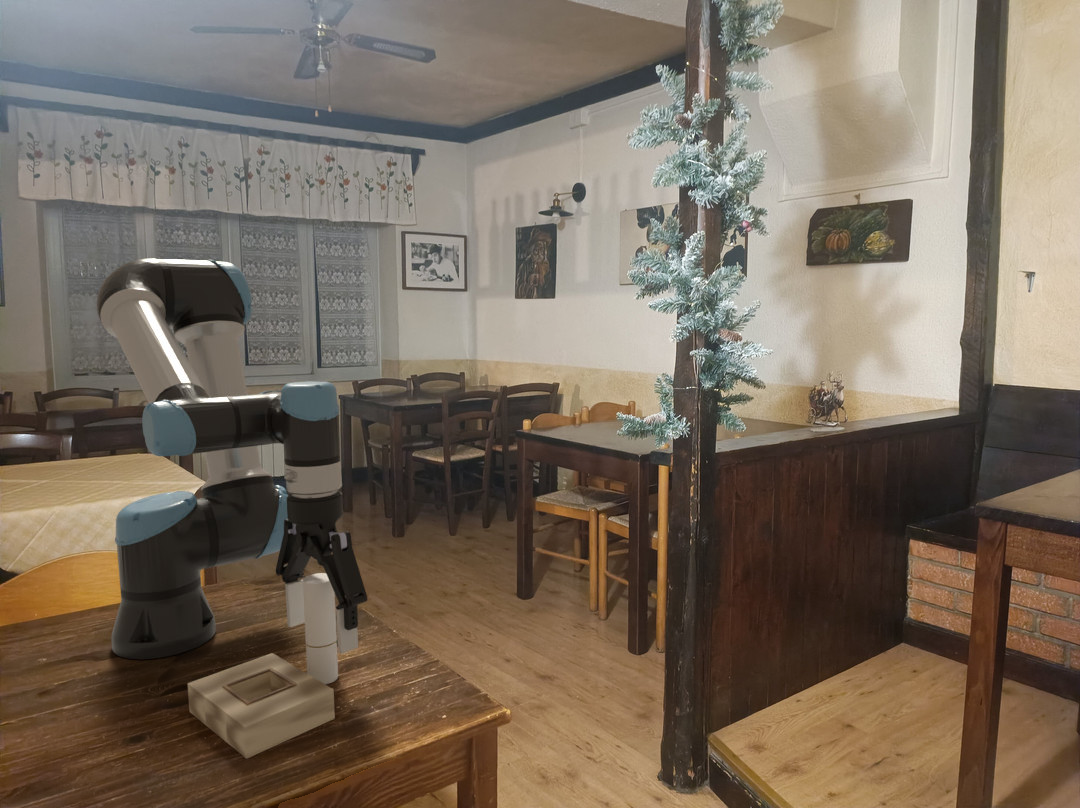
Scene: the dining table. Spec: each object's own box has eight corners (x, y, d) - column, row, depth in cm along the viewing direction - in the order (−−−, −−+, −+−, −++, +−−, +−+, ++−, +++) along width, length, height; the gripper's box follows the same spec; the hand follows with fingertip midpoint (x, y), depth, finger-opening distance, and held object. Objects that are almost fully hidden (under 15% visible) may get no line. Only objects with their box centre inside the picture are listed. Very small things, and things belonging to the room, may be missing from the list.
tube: (329, 686, 107) (325, 584, 106) (302, 683, 108) (296, 582, 106) (343, 672, 111) (339, 574, 110) (316, 669, 112) (312, 572, 111)
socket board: (189, 711, 101) (187, 681, 100) (273, 679, 110) (272, 651, 109) (246, 758, 90) (244, 725, 89) (334, 718, 99) (333, 687, 98)
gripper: (246, 484, 112) (255, 621, 115) (340, 511, 95) (348, 672, 98) (293, 475, 118) (300, 607, 120) (389, 500, 101) (395, 652, 103)
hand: (321, 636), depth 109 cm, fingers open, 13 cm apart
